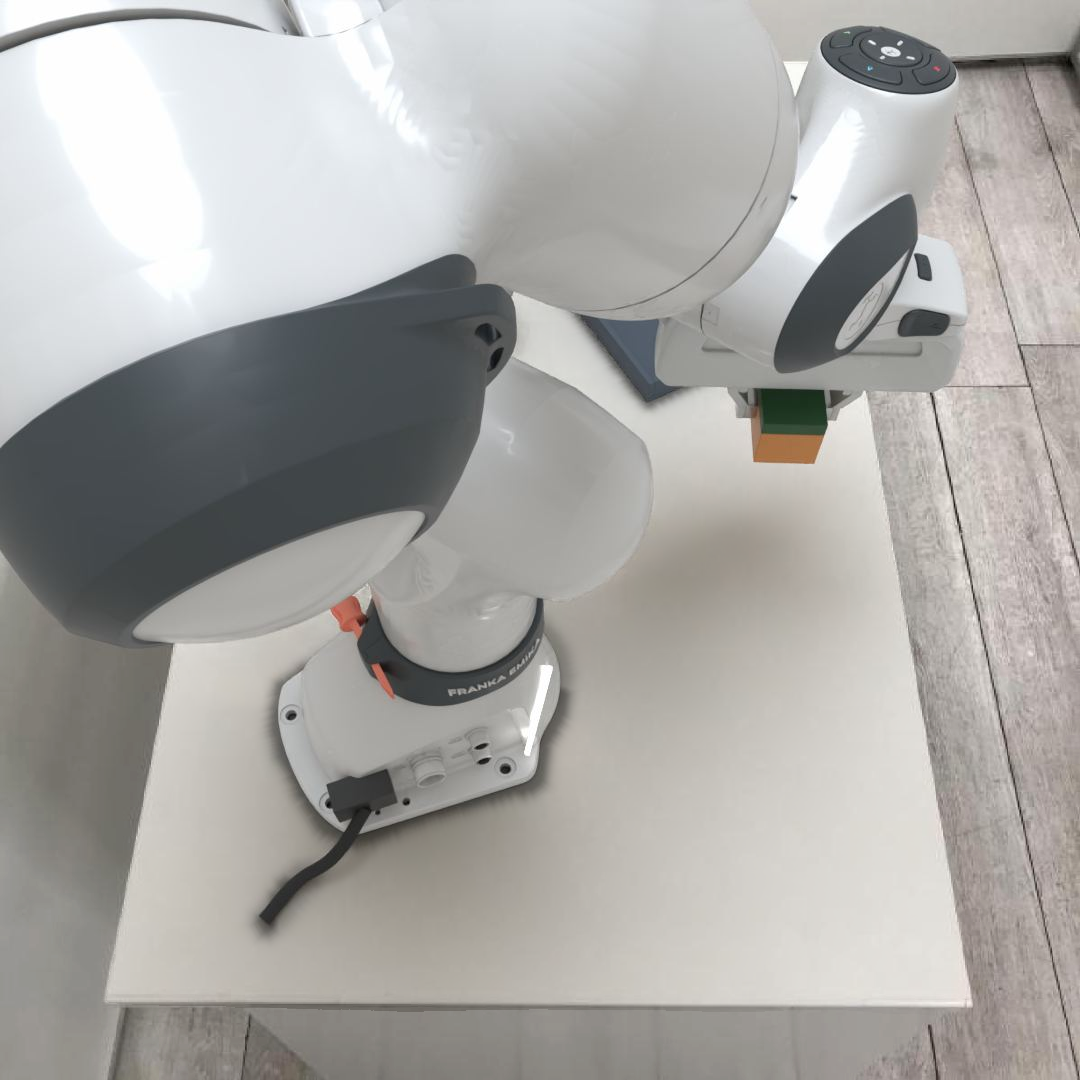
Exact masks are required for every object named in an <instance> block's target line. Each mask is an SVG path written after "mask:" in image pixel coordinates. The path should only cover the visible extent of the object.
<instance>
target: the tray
mask: <svg viewBox="0 0 1080 1080" xmlns="http://www.w3.org/2000/svg"><path fill="white" fill-rule="evenodd" d="M579 315H580V316H581V317H582V319H583V321H585V323H586V324H587V325H588V326H589V328H590V329H591V331H592V332H593V333H594V334H595V336H596V337H597V339H598V340H599V341H600V342H601V344H602V345H603V346H604V347H605V349H606V350H607V352H608V353H609V354H610V356H612V358H613V359H614V360H615V362H616V363H617V365H618V366H619V367H620V368H621V370H622V371H623V372H624V374H625V375H626V376H627V378H628V379H629V380H630V381H631V383H632V384H633V385H634V387H635V388H636V389H637V391H638V392H639V393H640V394H641V396H642V397H643V398H644V400H645V401H646V402H648V403H649V402H652V401H653V400H655V399H658V398H660V397H662V396H664V395H667V394H669V393H671V392H673V391H675V390H677V389H680V388H682V387H683V386H668V385H665V384H664V383H663V382H662V381H661V380H660V379H659V378H658V377H657V376H656V374H655V340H656V334H657V329H658V325H659V322H660V321H659V319H652V320H642V321H623V320H610V319H603V318H597V317H591V316H586V315H582V314H579Z"/></svg>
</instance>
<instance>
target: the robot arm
mask: <svg viewBox="0 0 1080 1080" xmlns="http://www.w3.org/2000/svg"><path fill="white" fill-rule="evenodd" d="M288 2H289V5H290V7H291V11H292V13H293V15H294V17H293V15H292V13H291V11H290V9H289V7H288V5H287V4H286V2H285V0H0V553H1V554H2V555H3V557H4V559H5V560H6V561H7V562H8V564H9V565H10V566H11V568H12V569H13V571H14V572H15V574H16V575H17V576H18V578H19V580H21V582H22V583H23V585H24V586H25V587H26V588H27V589H28V590H29V592H30V593H31V594H32V595H33V596H34V598H35V599H36V600H37V601H38V602H39V604H40V605H41V606H42V607H43V609H44V611H46V612H48V614H49V615H50V616H51V617H52V618H53V619H54V620H56V621H57V622H58V623H59V625H60V626H62V627H63V629H65V630H66V632H68V633H70V634H72V635H74V636H78V637H81V638H85V639H88V640H93V641H97V642H101V643H104V644H108V645H112V646H115V647H118V648H119V647H120V648H124V649H128V650H129V649H131V650H143V649H152V648H158V647H159V648H160V647H164V646H169V645H174V644H178V645H179V644H181V645H199V644H201V645H202V644H220V643H221V644H223V643H228V642H235V641H236V642H237V641H241V640H247V639H253V638H254V639H255V638H259V637H262V636H266V635H269V634H273V633H276V632H279V631H282V630H286V629H288V628H291V627H294V626H297V625H299V624H302V623H305V622H307V621H309V620H311V619H313V618H315V617H317V616H319V615H321V614H323V613H325V612H328V610H330V612H331V614H332V615H333V617H334V618H335V620H336V621H337V622H338V625H339V629H340V632H338V634H337V635H335V636H334V637H333V638H332V639H330V641H328V642H327V643H326V644H325V645H324V646H323V647H321V649H319V650H318V651H317V652H316V653H315V654H313V656H311V658H309V660H307V662H306V664H305V665H304V666H303V669H302V670H300V671H299V672H298V673H296V674H295V675H294V676H292V677H291V678H290V679H288V680H287V681H285V682H284V684H283V685H282V686H281V690H280V694H279V698H278V707H277V718H278V725H279V726H278V727H279V733H280V737H281V741H282V744H283V748H284V752H285V754H286V757H287V759H288V762H289V765H290V767H291V770H292V772H293V774H294V776H295V778H296V780H297V782H298V785H299V786H300V788H301V790H302V791H303V793H304V795H305V797H306V798H307V799H308V801H309V803H310V804H311V805H312V807H313V808H314V809H315V810H316V812H317V813H318V814H319V815H320V816H321V817H322V818H323V820H325V821H326V822H327V823H329V824H330V825H331V826H332V827H334V828H336V829H337V830H339V831H340V832H342V835H341V836H340V838H338V840H337V842H336V843H335V845H333V846H332V848H331V849H330V850H329V851H328V852H327V853H326V854H325V855H324V856H323V857H321V858H319V859H318V860H316V861H315V862H314V863H311V864H310V865H308V866H306V867H305V868H302V869H301V870H300V871H298V872H297V873H296V874H294V875H293V876H292V877H291V878H290V879H289V880H288V881H287V882H286V883H285V884H284V885H283V886H282V887H281V888H280V890H278V891H277V892H276V894H275V895H274V897H273V898H272V899H271V900H270V901H269V903H268V904H267V905H266V906H265V907H264V909H263V910H262V911H261V912H260V913H259V915H258V917H259V918H260V919H261V920H262V921H263V922H265V923H266V924H267V925H270V924H271V923H272V922H273V920H275V919H276V917H277V915H278V914H279V913H280V912H281V910H282V909H283V908H284V906H286V905H287V903H288V902H289V901H290V899H291V898H292V897H293V896H294V895H295V894H297V892H298V891H299V890H300V889H302V887H304V886H305V885H306V884H307V883H308V882H310V881H312V880H314V879H315V878H317V877H319V876H321V875H323V874H324V873H326V872H327V871H329V870H330V869H332V868H333V867H334V866H335V865H336V864H337V863H339V862H340V860H342V859H343V857H344V856H345V855H346V854H347V853H348V851H349V850H350V848H351V847H352V846H353V844H354V842H355V841H356V840H357V837H358V836H359V835H361V834H365V833H368V832H371V831H374V830H378V829H381V828H384V827H388V826H390V825H394V824H398V823H401V822H403V821H406V820H410V819H413V818H416V817H419V816H422V815H426V814H429V813H432V812H435V811H439V810H443V809H445V808H448V807H452V806H454V805H458V804H461V803H464V802H466V801H471V800H474V799H477V798H480V797H483V796H486V795H489V794H493V793H496V792H499V791H502V790H505V789H509V788H512V787H515V786H518V785H521V784H524V783H525V784H526V783H527V782H528V781H530V780H531V779H532V778H533V777H534V776H535V774H536V772H537V769H538V763H539V756H540V742H541V740H542V737H543V735H544V733H545V731H546V729H547V727H548V725H549V724H550V722H551V720H552V718H553V716H554V714H555V711H556V709H557V705H558V703H559V698H560V694H561V693H560V692H561V669H560V665H559V659H558V657H557V654H556V653H555V650H554V648H553V645H552V644H551V642H550V640H549V639H548V638H547V636H546V635H545V633H544V630H545V600H547V601H552V602H556V603H563V602H567V601H570V600H573V599H576V598H578V597H581V596H584V595H586V594H589V593H591V592H592V591H595V590H596V589H598V588H600V587H601V586H603V585H604V584H605V583H607V582H608V581H609V580H611V579H612V578H614V577H615V575H617V574H618V573H619V572H620V571H621V570H622V569H623V568H624V567H625V565H627V563H628V561H629V560H631V558H632V557H633V555H634V554H635V552H636V551H637V550H638V548H639V546H640V544H641V542H642V541H643V539H644V537H645V534H646V532H647V530H648V527H649V523H650V520H651V516H652V511H653V507H654V498H655V478H654V470H653V465H652V460H651V456H650V452H649V450H648V446H647V444H646V442H645V441H644V439H643V438H641V437H640V436H638V434H636V433H635V432H633V430H631V429H630V428H628V426H626V425H625V424H623V422H621V421H620V420H619V419H618V418H617V417H615V416H614V415H612V413H610V412H609V411H608V410H607V409H605V408H604V407H602V405H599V404H598V403H597V402H595V400H593V399H592V398H590V397H589V396H588V395H586V394H585V393H584V392H582V391H581V390H580V389H578V388H577V387H575V386H574V385H571V384H569V383H567V382H565V381H563V380H561V379H558V378H557V377H555V376H553V375H551V374H549V373H547V372H544V371H542V370H540V369H539V368H537V367H535V366H532V365H530V364H529V363H526V362H524V361H522V360H520V359H518V358H516V357H514V356H513V354H514V351H515V348H516V345H517V341H518V329H517V327H518V326H517V312H516V305H515V302H514V300H513V298H512V297H511V296H510V295H509V294H508V293H507V292H506V291H505V290H504V288H506V289H508V290H511V291H513V292H514V293H516V294H519V295H521V296H524V297H526V298H529V299H532V300H534V301H537V302H539V303H543V304H545V305H548V306H550V307H553V308H556V309H560V310H564V311H567V312H571V313H575V314H578V315H580V314H582V315H586V316H591V317H597V318H603V319H610V320H623V321H642V320H652V319H659V321H660V322H659V325H658V329H657V334H656V340H655V374H656V376H657V377H658V378H659V379H660V380H661V381H662V382H663V383H664V384H665V385H668V386H682V387H694V388H696V387H698V388H727V389H726V390H727V391H726V392H727V393H728V396H729V397H731V399H732V400H733V402H734V403H735V404H734V407H735V409H734V410H735V418H736V419H751V418H756V413H757V411H758V407H759V405H758V398H757V397H758V390H757V388H770V389H810V390H824V393H825V402H826V411H827V420H828V422H830V421H831V422H836V421H837V419H838V417H839V414H840V411H841V409H843V408H845V407H847V406H848V405H850V404H851V403H853V402H854V401H857V399H859V398H861V397H862V396H863V393H864V392H889V393H890V392H891V393H892V392H896V393H923V394H925V393H926V394H927V393H929V394H932V393H935V392H937V391H939V390H941V389H943V388H944V387H945V388H946V386H948V385H949V384H950V383H951V382H952V380H953V379H954V377H955V374H956V372H957V369H958V367H959V365H960V361H961V358H962V354H963V350H964V345H965V341H964V333H963V330H964V328H965V326H966V325H967V322H968V320H969V308H968V296H967V289H966V283H965V278H964V273H963V270H962V267H961V265H960V261H959V258H958V255H957V253H956V251H955V247H954V246H953V245H952V244H951V243H950V242H948V241H945V240H943V239H940V238H936V237H932V236H928V235H926V234H921V233H919V225H918V224H919V223H920V221H922V220H921V219H923V217H924V215H925V214H926V212H927V210H928V207H929V205H930V202H931V200H932V198H933V196H934V195H933V194H934V192H935V189H936V186H937V184H938V181H939V177H940V174H941V172H942V168H943V165H944V162H945V158H946V155H947V152H948V147H949V143H950V141H951V140H950V139H951V135H952V131H953V127H954V122H955V117H956V112H957V107H958V100H959V92H960V91H959V90H960V76H959V72H958V70H957V68H956V65H955V64H954V63H953V61H952V60H951V59H950V57H948V56H947V55H946V54H944V52H942V50H941V49H940V48H938V47H936V46H934V45H932V44H930V43H928V42H926V41H924V40H923V39H920V38H917V37H914V36H913V35H909V34H907V33H904V32H902V31H898V30H895V29H892V28H889V27H885V26H881V25H880V26H879V25H878V26H876V25H875V26H874V25H853V26H847V27H843V28H838V29H835V30H833V31H830V32H828V33H826V34H825V35H824V36H823V37H821V38H820V39H819V41H818V42H817V44H816V45H815V47H814V49H813V51H812V53H811V56H810V57H809V59H808V63H807V65H806V67H805V69H804V72H803V74H802V78H801V79H800V83H799V85H798V88H797V91H796V94H795V92H794V88H793V84H792V81H791V78H790V75H789V73H788V70H787V68H786V66H785V64H784V61H783V59H782V56H781V55H780V53H779V50H778V49H777V47H776V45H775V44H774V41H773V39H772V38H771V36H770V34H769V32H768V31H767V29H766V28H765V26H764V25H763V22H762V21H761V20H760V17H759V16H758V15H757V14H758V13H756V11H755V9H754V8H753V7H752V5H751V3H750V2H749V0H288ZM294 18H295V19H294ZM366 585H368V587H369V590H370V593H371V597H370V601H369V603H368V606H367V608H365V610H364V611H363V610H362V608H361V604H360V602H359V599H358V598H357V596H356V595H355V594H356V593H357V592H358V591H360V590H361V589H362V588H364V587H365V586H366ZM292 714H295V715H296V716H295V718H294V719H291V720H290V719H288V718H289V716H290V715H292ZM504 767H508V768H510V771H509V772H508V773H503V772H501V769H502V768H504ZM406 802H409V804H406ZM329 803H330V805H331V807H330V808H329V807H328V804H329Z"/></svg>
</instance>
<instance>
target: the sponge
mask: <svg viewBox="0 0 1080 1080" xmlns="http://www.w3.org/2000/svg"><path fill="white" fill-rule="evenodd" d="M757 390H758V397H757V398H758V405H759V407H758V411H757V413H756V418H750V431H751V444H752V445H751V448H752V462H753V463H760V464H761V463H763V464H764V463H766V464H797V465H798V464H804V465H814V464H815V463H816V460H817V457H818V454H819V452H820V449H821V446H822V443H823V440H824V438H825V436H826V432H827V430H828V427H829V421H828V420H827V411H826V402H825V393H824V390H810V389H770V388H757Z"/></svg>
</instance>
